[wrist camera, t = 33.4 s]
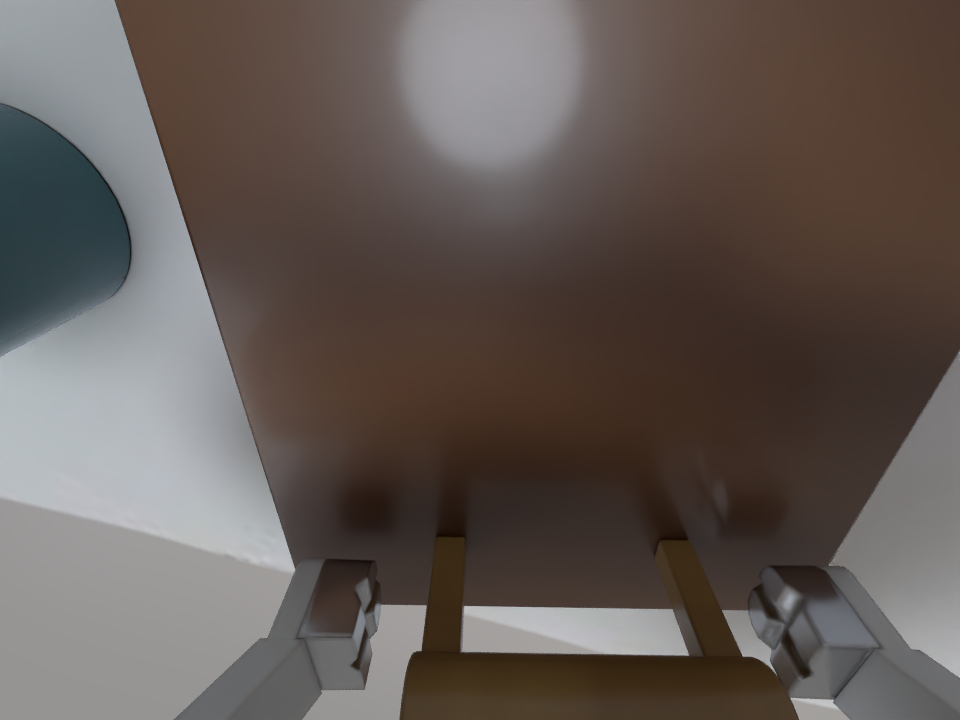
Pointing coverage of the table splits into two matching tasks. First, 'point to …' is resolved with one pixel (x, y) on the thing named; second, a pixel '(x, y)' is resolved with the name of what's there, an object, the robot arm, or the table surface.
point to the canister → (52, 232)
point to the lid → (570, 301)
